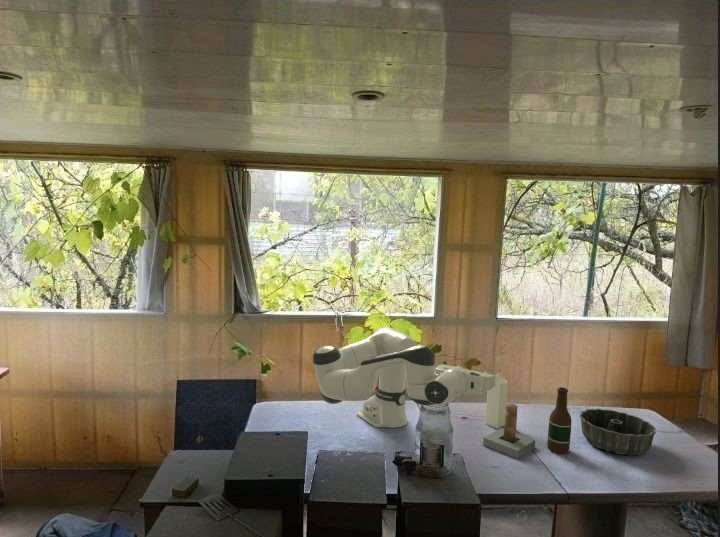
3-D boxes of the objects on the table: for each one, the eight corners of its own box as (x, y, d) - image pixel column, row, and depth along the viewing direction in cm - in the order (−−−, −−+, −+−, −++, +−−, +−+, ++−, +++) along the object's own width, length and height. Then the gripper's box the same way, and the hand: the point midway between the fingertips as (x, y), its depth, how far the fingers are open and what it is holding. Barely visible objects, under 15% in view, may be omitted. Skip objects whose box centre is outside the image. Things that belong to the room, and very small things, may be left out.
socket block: (483, 445, 182) (483, 437, 181) (501, 435, 192) (501, 427, 191) (517, 458, 172) (517, 450, 172) (534, 447, 182) (535, 439, 181)
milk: (505, 425, 202) (509, 374, 200) (497, 428, 198) (501, 377, 196) (492, 420, 206) (496, 370, 204) (484, 424, 202) (488, 373, 200)
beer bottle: (559, 456, 175) (564, 393, 173) (542, 447, 182) (547, 386, 180) (573, 452, 178) (578, 390, 176) (556, 444, 185) (561, 384, 183)
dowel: (500, 446, 182) (503, 405, 180) (506, 442, 185) (508, 402, 183) (511, 450, 179) (514, 408, 177) (517, 446, 182) (519, 406, 180)
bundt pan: (607, 427, 204) (609, 404, 203) (669, 454, 180) (672, 429, 179) (562, 436, 192) (564, 412, 192) (622, 467, 169) (625, 440, 168)
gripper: (427, 382, 163) (445, 373, 174) (485, 396, 151) (500, 386, 163) (428, 364, 163) (446, 357, 174) (486, 377, 151) (501, 368, 162)
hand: (472, 371), depth 168 cm, fingers open, 8 cm apart
